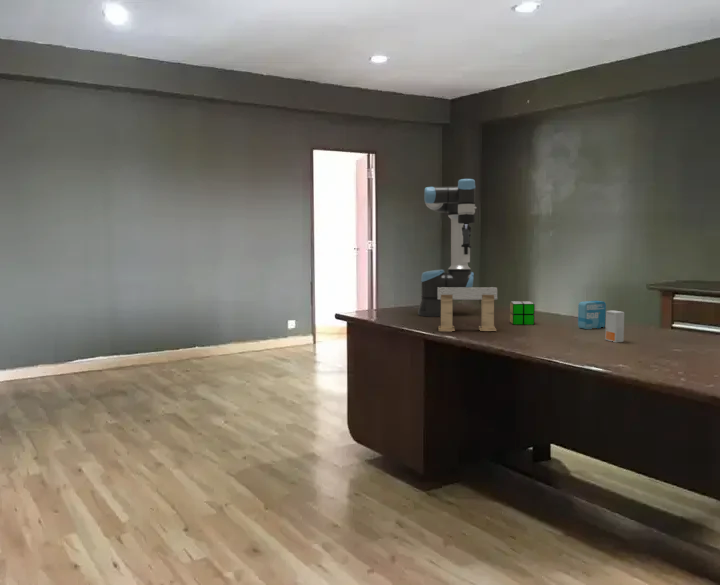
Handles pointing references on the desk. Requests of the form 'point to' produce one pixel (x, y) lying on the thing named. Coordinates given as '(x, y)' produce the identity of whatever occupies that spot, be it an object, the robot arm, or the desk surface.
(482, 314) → the post
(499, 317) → the desk surface
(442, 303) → the post
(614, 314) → the skincare box
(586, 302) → the data package
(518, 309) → the puzzle cube
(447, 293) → the rail
